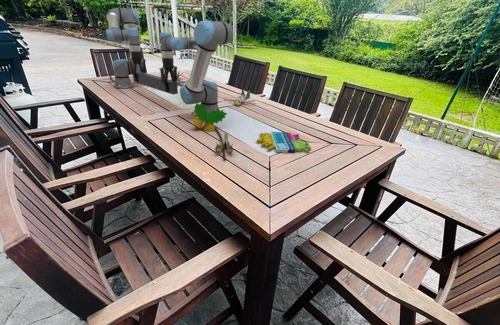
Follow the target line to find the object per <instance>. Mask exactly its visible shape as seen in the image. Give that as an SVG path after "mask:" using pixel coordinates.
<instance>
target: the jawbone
mask: <svg viewBox="0 0 500 325" xmlns="http://www.w3.org/2000/svg"><path fill="white" fill-rule="evenodd" d="M223 135H224V136H223V139H222V141H221V140H220V141H221V142H220V144H218V142H215V144H216V146H215V148H214V149H215V152H214V154H215V155H217V156H218V155H220V153H221V152H223V149H224V150H226V152H227V153H228V155H229V156H233V155H234V154H233V153H234V148H233V144H234V143H230V140H228V139H229V138H228V137H229V136H228V135H229V133H228V131H226V132H224V134H223Z"/></svg>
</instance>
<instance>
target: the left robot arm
mask: <svg viewBox="0 0 500 325" xmlns="http://www.w3.org/2000/svg"><path fill="white" fill-rule="evenodd" d="M139 18H140V17H139V15H138V11H137V10H136V9H135V8H126V7H125V8H124V7H113V8H111V9H109V10H108V11H107V13H106V21H107V22H108V28H107V29H105V35H106V39H107V40H108V41H113V42H115V41H117V42H118V41H121V42H122V41H124V42H127V43H128V50H129V55H130V56H129V58H128V60H127V59H126V58H121V59H115V60H113V61H112V68H113V74H114V79H112V75H111V74H109V73H106V74H105V76H109V79H110V81H112V82H114V83H113V86H114V88H115V89H120V90H122V89H123V90H125V89H131V88H133V82H132V80H131V78H130V76H133V75H132V74H134V78H135V81H136V82H137V83H136V82H135V83H136V84H139V83H138V77H137V74H136V71H140V72H143V73H147V67H146V59H145V58H143V57H142V51H141V50H142V48H141V41H140V32H139V29H138V27H139V25H140V19H139ZM120 24H122V25H123V27H124V28H125V29H121V28H120Z"/></svg>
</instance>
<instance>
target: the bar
mask: <svg viewBox="0 0 500 325" xmlns="http://www.w3.org/2000/svg"><path fill="white" fill-rule="evenodd" d="M136 74H137V77H138V83H137V82H136V81H135V78H134V74H132V75H131V76H132V79H133V82H134V83H136V84H139V85H143V86H145V87H148V88H151V89H154V90H158V91H160V92H164V93H167V92H166V88H165V85H164V83H163V82H162V81H161V76H157V75H154V74H151V73H147V72H145V73H143V72H140V71H136ZM167 83H168V86H169V93H167V94H170V95H177V94H179V87H178V85H177V82H175V81H172V79H168V81H167Z"/></svg>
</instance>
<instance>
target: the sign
mask: <svg viewBox="0 0 500 325" xmlns="http://www.w3.org/2000/svg"><path fill="white" fill-rule="evenodd" d="M299 136H300V135H299V134H298V133H296V134H294V133H291V132H287V131H270V132H264V133H263V132H260V133H259V139H258V138H257V139H256V143H257V144H261V148H263V147H264V148H265V149H267V151H268V152H271V151H272V150H273V149H275V152H276V153H283V154H285V153H287V154H288V153H290V154H293V153H296V152H298V153H301V152H305V153H310V151H311V150H312V149H311V148H312V146H309V142H304V141H303V139H302V138H299Z"/></svg>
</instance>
